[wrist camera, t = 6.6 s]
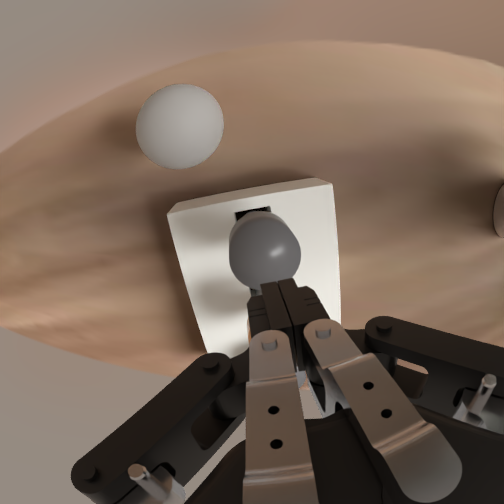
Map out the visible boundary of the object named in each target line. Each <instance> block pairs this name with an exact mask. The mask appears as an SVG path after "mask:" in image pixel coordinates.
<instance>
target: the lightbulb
mask: <svg viewBox="0 0 504 504" xmlns="http://www.w3.org/2000/svg"><path fill="white" fill-rule="evenodd" d="M223 130H224V119H223V114H222V110H221V108H220V106H219V104H218V102H217V101H216V99H215V98H214V97H213V96H212V95H211V94H210V93H209V92H207V91H206V90H204V89H202V88H200V87H197V86H194V85H189V84H174V85H170V86H166V87H164V88H162V89H160V90H158V91H157V92H155V93H154V94H152V95H151V96H150V97H149V98H148V99H147V100H146V101H145V103H144V104H143V106H142V108H141V109H140V112H139V114H138V117H137V121H136V136H137V141H138V144H139V146H140V148H141V150H142V151H143V153H144V154H145V155H146V156H147V157H148V158H149V159H150V160H151V161H153V162H154V163H156V164H157V165H159V166H162V167H165V168H169V169H186V168H190V167H193V166H195V165H198V164H200V163H201V162H203V161H204V160H206V159H207V158H208V157H209V156H210V155H211V154H212V153H213V152H214V151H215V150H216V148H217V147H218V145H219V143H220V141H221V138H222V135H223Z"/></svg>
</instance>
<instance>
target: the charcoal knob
mask: <svg viewBox="0 0 504 504" xmlns="http://www.w3.org/2000/svg"><path fill="white" fill-rule="evenodd" d="M300 261H301V248H300V245H299V242H298V240H297V238H296V237H295V235H294V234H293V233H292V231H291V230H290V228H289V227H288V226H287V224H286V223H285V222H284V221H283V220H282V219H281V218H280V217H279V216H277V215H275V214H273V213H270V212H266V211H250V212H248V213H246V214H245V216H243V217H242V218H240V219H239V220H238V221H237V222H236V223H235V225H234V226H233V228H232V230H231V232H230V236H229V264H230V268H231V270H232V272H233V274H234V276H235V277H236V278H237V279H238V280H239V281H240V282H241V283H242V284H244V285H245V286H247V287H249V288H252V289H256V290H261V287H260V284H263V283H268V282H273V281H276V282H277V281H278V280H283V279H288V278H292V277H293V276H294V275H295V273H296V272H297V270H298V268H299V265H300Z"/></svg>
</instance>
